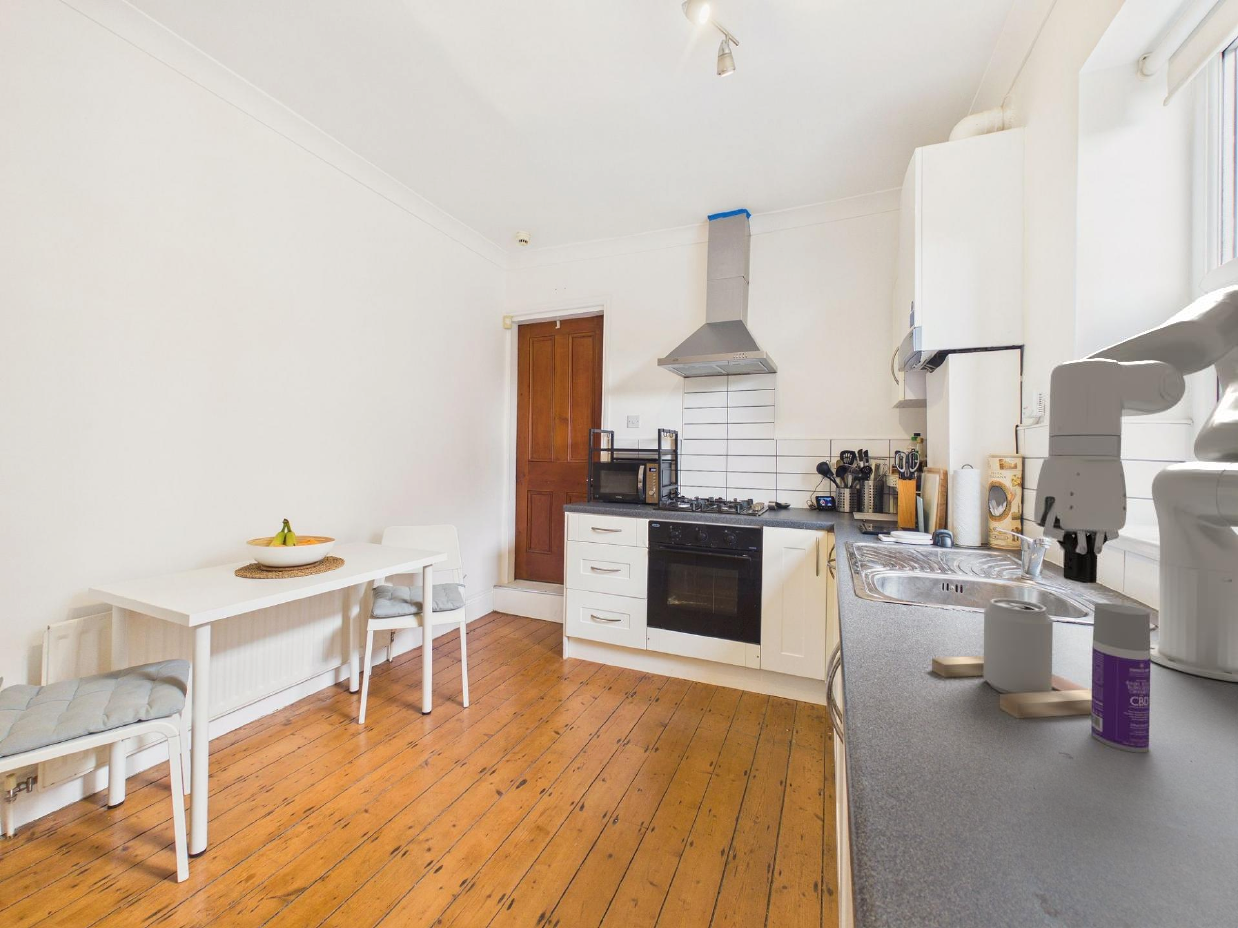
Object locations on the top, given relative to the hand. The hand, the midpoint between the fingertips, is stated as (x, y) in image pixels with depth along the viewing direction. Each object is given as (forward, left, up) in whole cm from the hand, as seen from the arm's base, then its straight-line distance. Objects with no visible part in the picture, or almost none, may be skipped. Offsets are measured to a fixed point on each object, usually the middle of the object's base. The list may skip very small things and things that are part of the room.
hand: (1079, 580), depth 72 cm
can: (+10, 0, -15) cm, 18 cm away
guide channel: (+9, 0, -15) cm, 17 cm away
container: (+10, +13, -15) cm, 22 cm away
